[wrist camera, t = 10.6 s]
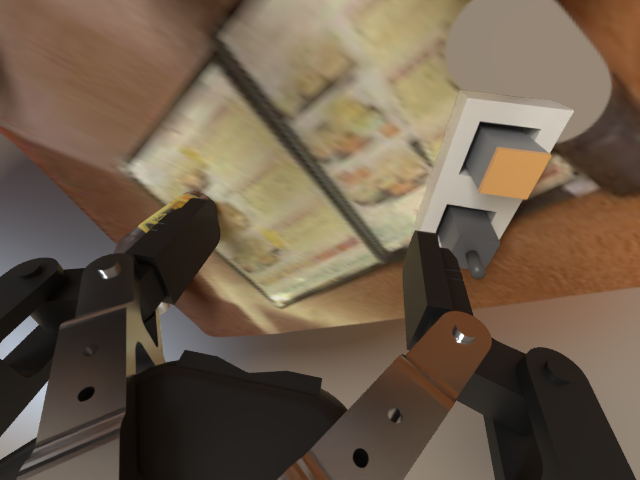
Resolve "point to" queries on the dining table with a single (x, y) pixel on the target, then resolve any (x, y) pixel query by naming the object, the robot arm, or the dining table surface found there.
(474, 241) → the white rectangular frame
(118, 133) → the dining table surface
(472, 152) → the plug
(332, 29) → the dining table surface
